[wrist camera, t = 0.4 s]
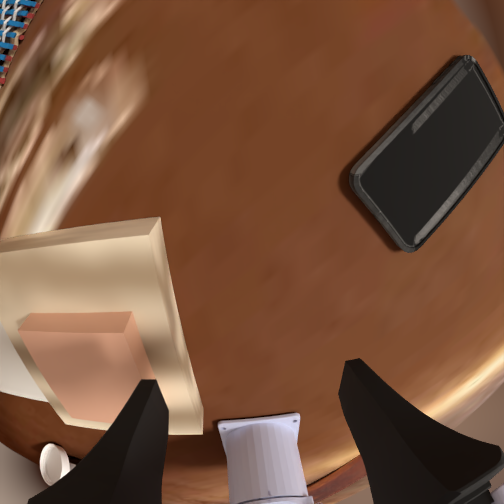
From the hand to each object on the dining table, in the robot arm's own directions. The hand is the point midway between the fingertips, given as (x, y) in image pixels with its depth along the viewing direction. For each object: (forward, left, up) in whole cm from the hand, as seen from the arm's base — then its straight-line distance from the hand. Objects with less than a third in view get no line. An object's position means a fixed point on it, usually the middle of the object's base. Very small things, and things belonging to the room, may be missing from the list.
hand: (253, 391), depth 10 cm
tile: (-5, +10, -7) cm, 13 cm away
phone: (+8, -15, -10) cm, 20 cm away
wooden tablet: (-41, -14, -10) cm, 44 cm away
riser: (-5, +11, -10) cm, 16 cm away
